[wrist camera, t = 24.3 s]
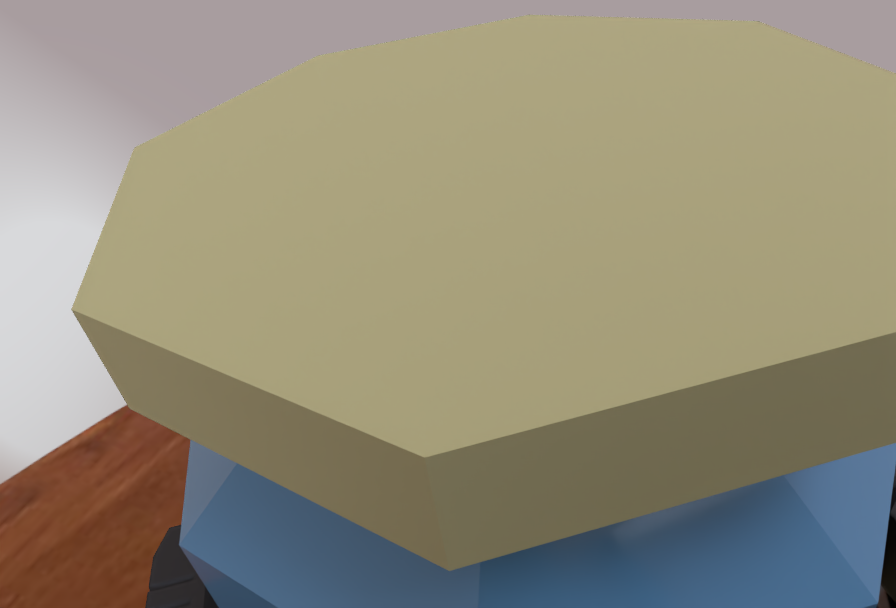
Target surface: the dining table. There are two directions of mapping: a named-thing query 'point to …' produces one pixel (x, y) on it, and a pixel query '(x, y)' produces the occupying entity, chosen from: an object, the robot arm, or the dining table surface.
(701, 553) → the jar
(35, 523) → the dining table surface
